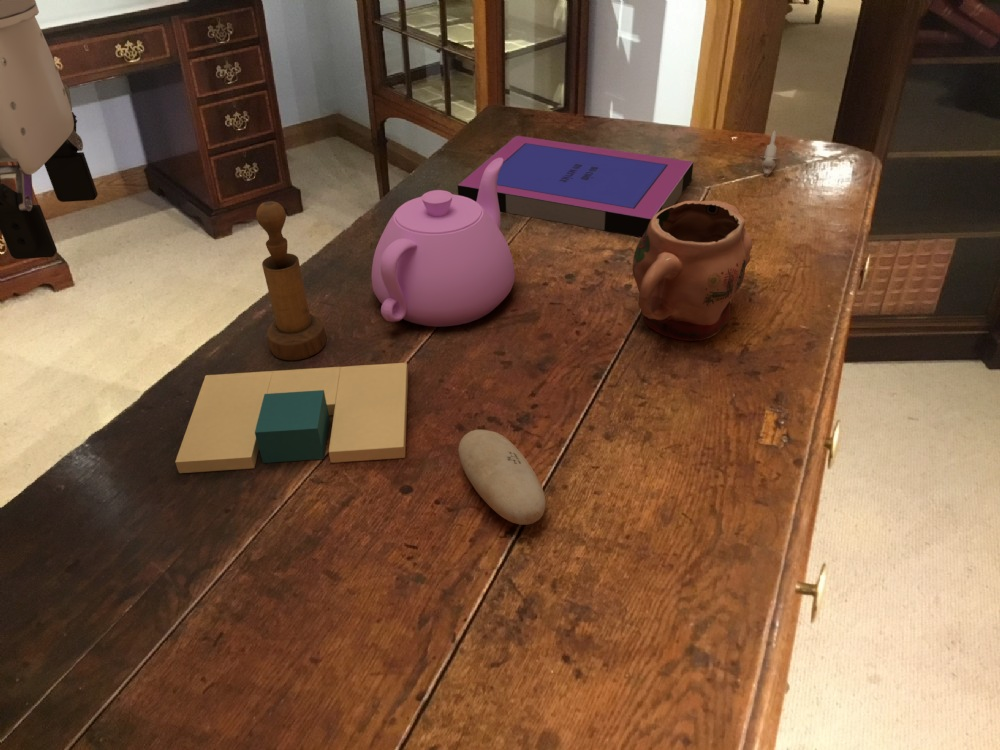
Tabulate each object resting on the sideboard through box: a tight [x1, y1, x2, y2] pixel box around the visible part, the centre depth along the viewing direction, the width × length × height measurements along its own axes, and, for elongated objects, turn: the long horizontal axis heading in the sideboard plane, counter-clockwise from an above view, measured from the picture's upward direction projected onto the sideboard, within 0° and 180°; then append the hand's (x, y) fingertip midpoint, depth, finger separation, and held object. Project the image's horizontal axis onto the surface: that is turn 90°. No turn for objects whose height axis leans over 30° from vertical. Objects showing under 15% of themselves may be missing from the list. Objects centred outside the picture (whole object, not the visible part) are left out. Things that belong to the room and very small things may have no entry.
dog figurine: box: [758, 130, 781, 178], centre depth 134 cm, size 3×8×6 cm
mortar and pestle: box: [255, 200, 327, 361], centre depth 94 cm, size 7×6×18 cm
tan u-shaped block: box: [174, 362, 409, 474], centre depth 88 cm, size 22×14×2 cm, turn 94°
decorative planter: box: [632, 200, 753, 342], centre depth 96 cm, size 20×12×14 cm, turn 147°
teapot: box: [371, 158, 516, 328], centre depth 104 cm, size 25×18×14 cm
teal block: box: [255, 390, 331, 464], centre depth 85 cm, size 6×6×4 cm
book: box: [457, 135, 694, 238], centre depth 130 cm, size 21×3×30 cm
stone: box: [458, 429, 547, 526], centre depth 78 cm, size 6×6×12 cm
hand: (58, 226), depth 68 cm, fingers open, 9 cm apart
